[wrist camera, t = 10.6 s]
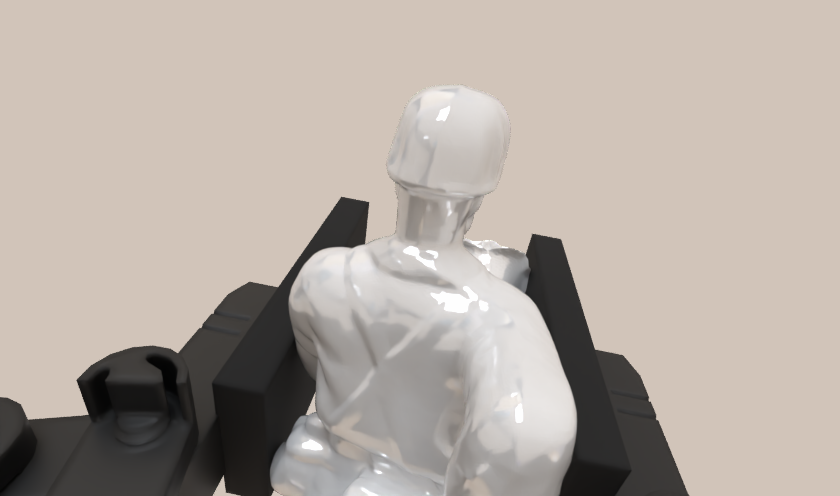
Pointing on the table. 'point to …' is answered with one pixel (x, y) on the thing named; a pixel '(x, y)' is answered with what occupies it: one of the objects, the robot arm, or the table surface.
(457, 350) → the figurine
